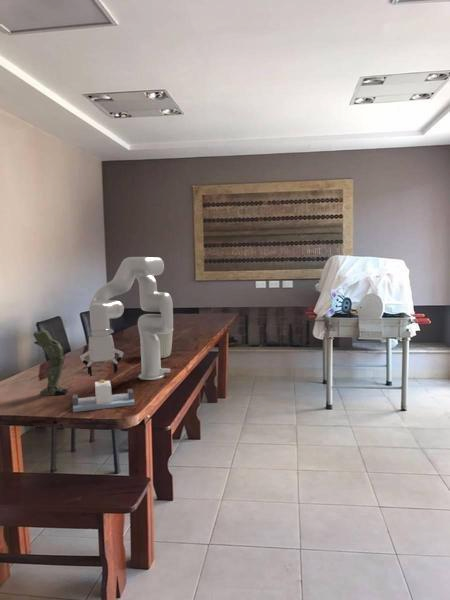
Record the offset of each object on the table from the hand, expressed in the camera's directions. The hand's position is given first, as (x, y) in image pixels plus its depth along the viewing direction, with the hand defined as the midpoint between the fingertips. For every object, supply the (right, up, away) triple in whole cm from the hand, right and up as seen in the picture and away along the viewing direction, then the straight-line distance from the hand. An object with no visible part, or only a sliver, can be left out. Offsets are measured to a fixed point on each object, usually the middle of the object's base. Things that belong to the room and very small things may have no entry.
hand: (103, 374), depth 196 cm
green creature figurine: (-27, -12, +17) cm, 34 cm away
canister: (+11, -4, +90) cm, 90 cm away
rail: (0, -11, +1) cm, 11 cm away
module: (0, -11, +1) cm, 11 cm away
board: (0, -12, +1) cm, 12 cm away
